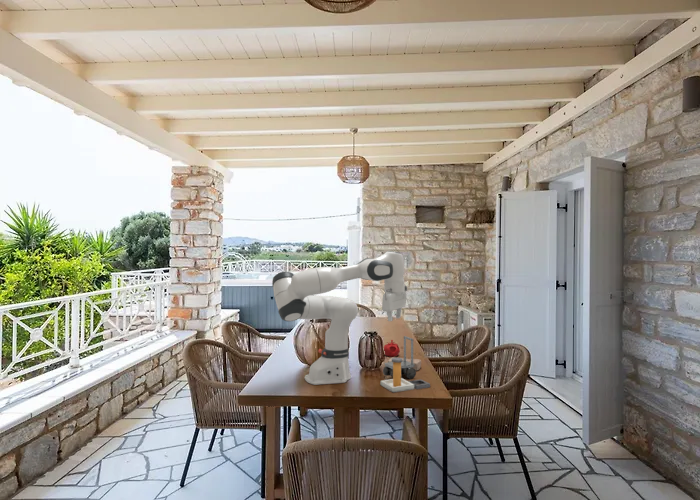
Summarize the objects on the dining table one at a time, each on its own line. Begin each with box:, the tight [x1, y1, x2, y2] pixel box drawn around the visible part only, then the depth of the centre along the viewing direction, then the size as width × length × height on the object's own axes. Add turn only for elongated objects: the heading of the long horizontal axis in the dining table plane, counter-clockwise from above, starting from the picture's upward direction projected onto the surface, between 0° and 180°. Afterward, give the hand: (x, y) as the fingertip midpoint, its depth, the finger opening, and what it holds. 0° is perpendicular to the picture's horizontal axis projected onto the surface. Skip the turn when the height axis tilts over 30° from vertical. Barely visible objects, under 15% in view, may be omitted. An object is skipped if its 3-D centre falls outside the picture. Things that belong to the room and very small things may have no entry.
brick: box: [387, 356, 422, 372], centre depth 210 cm, size 17×8×5 cm, turn 67°
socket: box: [407, 378, 431, 390], centre depth 181 cm, size 7×7×2 cm
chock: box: [384, 375, 392, 380], centre depth 187 cm, size 2×3×2 cm
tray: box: [380, 377, 415, 393], centre depth 179 cm, size 11×11×2 cm
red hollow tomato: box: [383, 339, 401, 358], centre depth 236 cm, size 10×10×9 cm
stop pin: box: [391, 357, 403, 387], centre depth 179 cm, size 5×5×12 cm
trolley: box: [382, 335, 417, 380], centre depth 193 cm, size 13×9×19 cm
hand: (394, 319), depth 175 cm, fingers open, 8 cm apart
